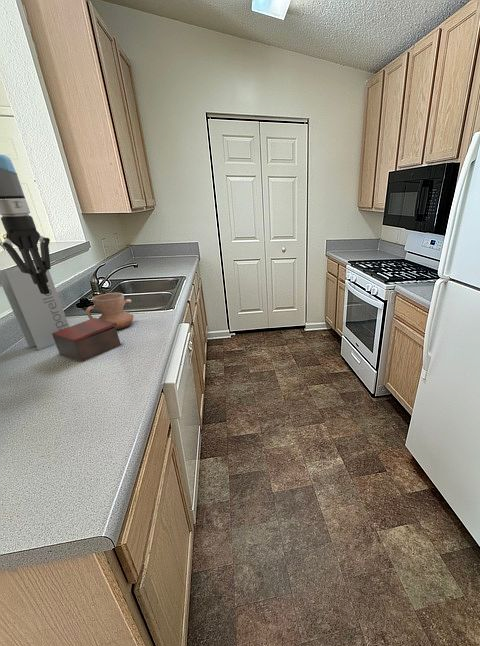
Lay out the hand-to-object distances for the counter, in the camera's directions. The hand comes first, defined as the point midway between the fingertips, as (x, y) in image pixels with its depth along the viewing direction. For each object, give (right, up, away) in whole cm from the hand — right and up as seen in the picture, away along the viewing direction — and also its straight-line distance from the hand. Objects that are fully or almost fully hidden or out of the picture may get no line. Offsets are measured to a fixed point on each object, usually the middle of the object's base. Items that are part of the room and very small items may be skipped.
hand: (45, 293), depth 109 cm
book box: (+4, -18, +17) cm, 26 cm away
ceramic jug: (+1, -8, +39) cm, 40 cm away
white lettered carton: (-16, -15, +25) cm, 33 cm away
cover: (+4, -11, +14) cm, 18 cm away
